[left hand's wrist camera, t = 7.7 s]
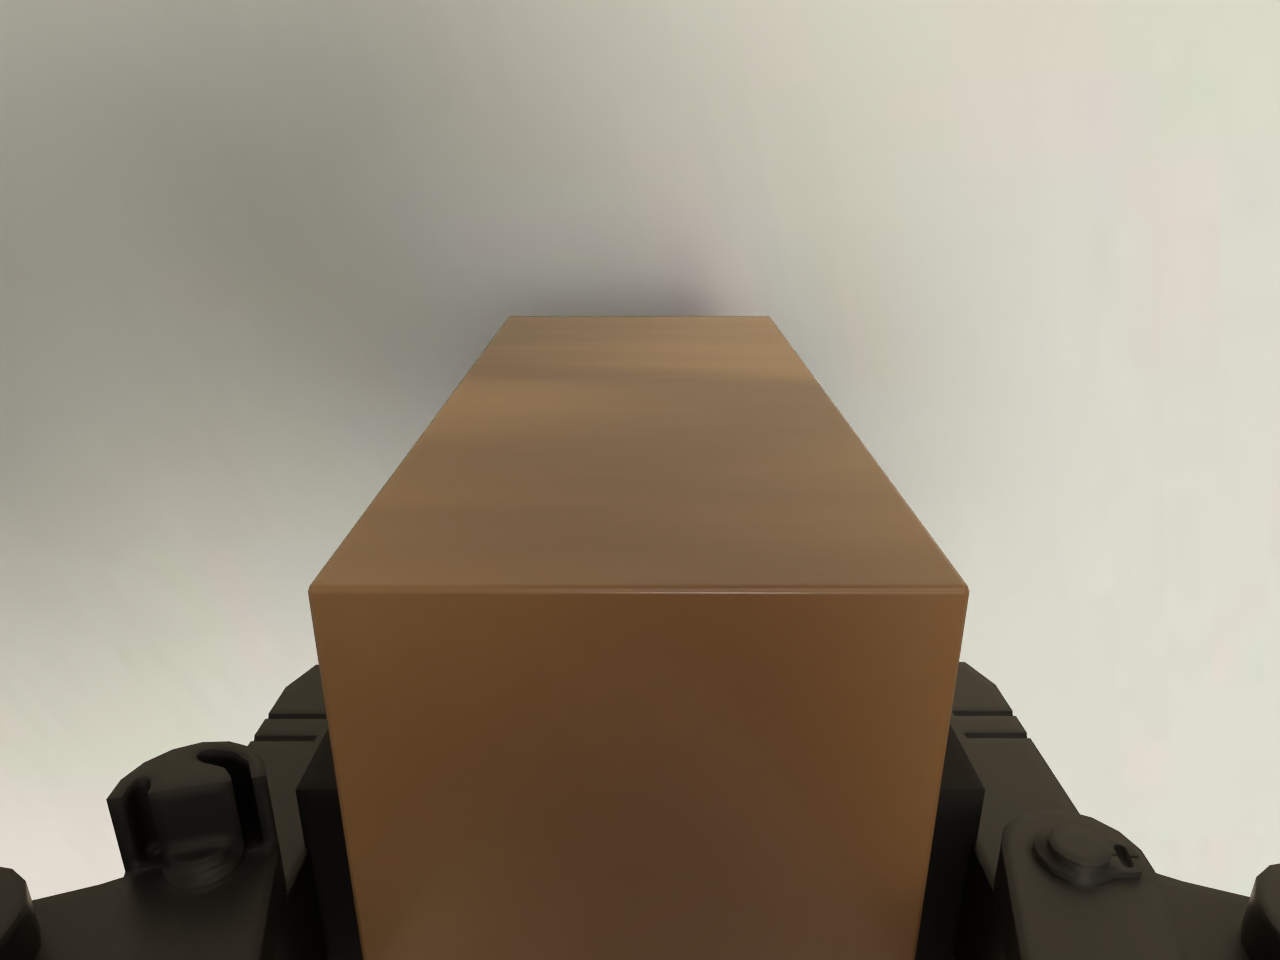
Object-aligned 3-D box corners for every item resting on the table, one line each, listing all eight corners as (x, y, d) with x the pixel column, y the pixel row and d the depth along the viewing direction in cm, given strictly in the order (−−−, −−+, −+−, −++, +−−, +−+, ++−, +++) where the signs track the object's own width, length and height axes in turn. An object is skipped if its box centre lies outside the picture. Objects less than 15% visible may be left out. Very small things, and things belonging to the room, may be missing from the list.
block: (527, 680, 19) (405, 1263, 9) (508, 315, 16) (304, 586, 6) (751, 680, 19) (872, 1263, 9) (770, 316, 16) (973, 588, 6)
